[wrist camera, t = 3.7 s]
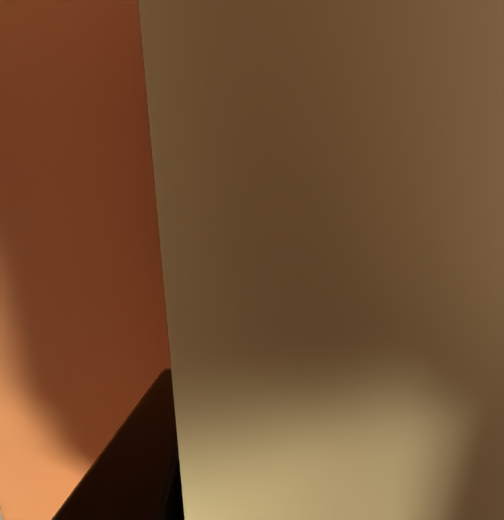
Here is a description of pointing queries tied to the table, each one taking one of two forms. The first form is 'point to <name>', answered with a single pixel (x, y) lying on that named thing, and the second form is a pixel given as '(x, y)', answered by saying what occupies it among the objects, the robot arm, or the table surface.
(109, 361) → the table surface
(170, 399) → the robot arm
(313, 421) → the beam with grey square
